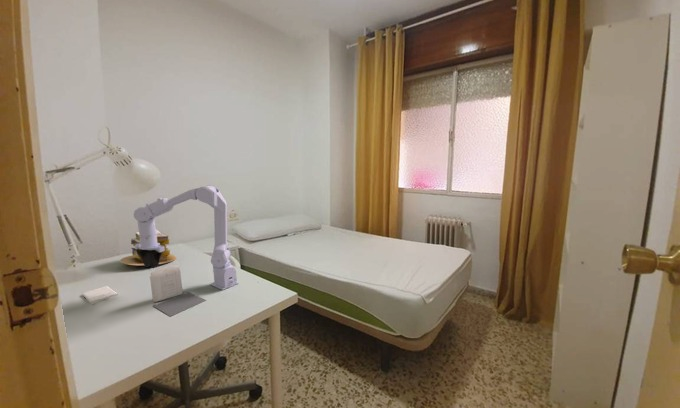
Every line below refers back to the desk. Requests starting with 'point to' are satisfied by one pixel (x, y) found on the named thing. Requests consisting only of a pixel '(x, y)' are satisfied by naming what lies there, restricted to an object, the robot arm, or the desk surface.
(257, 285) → the desk surface
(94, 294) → the external hard drive
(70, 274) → the desk surface
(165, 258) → the sandwich platter
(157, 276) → the photo printer
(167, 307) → the rubber mat
